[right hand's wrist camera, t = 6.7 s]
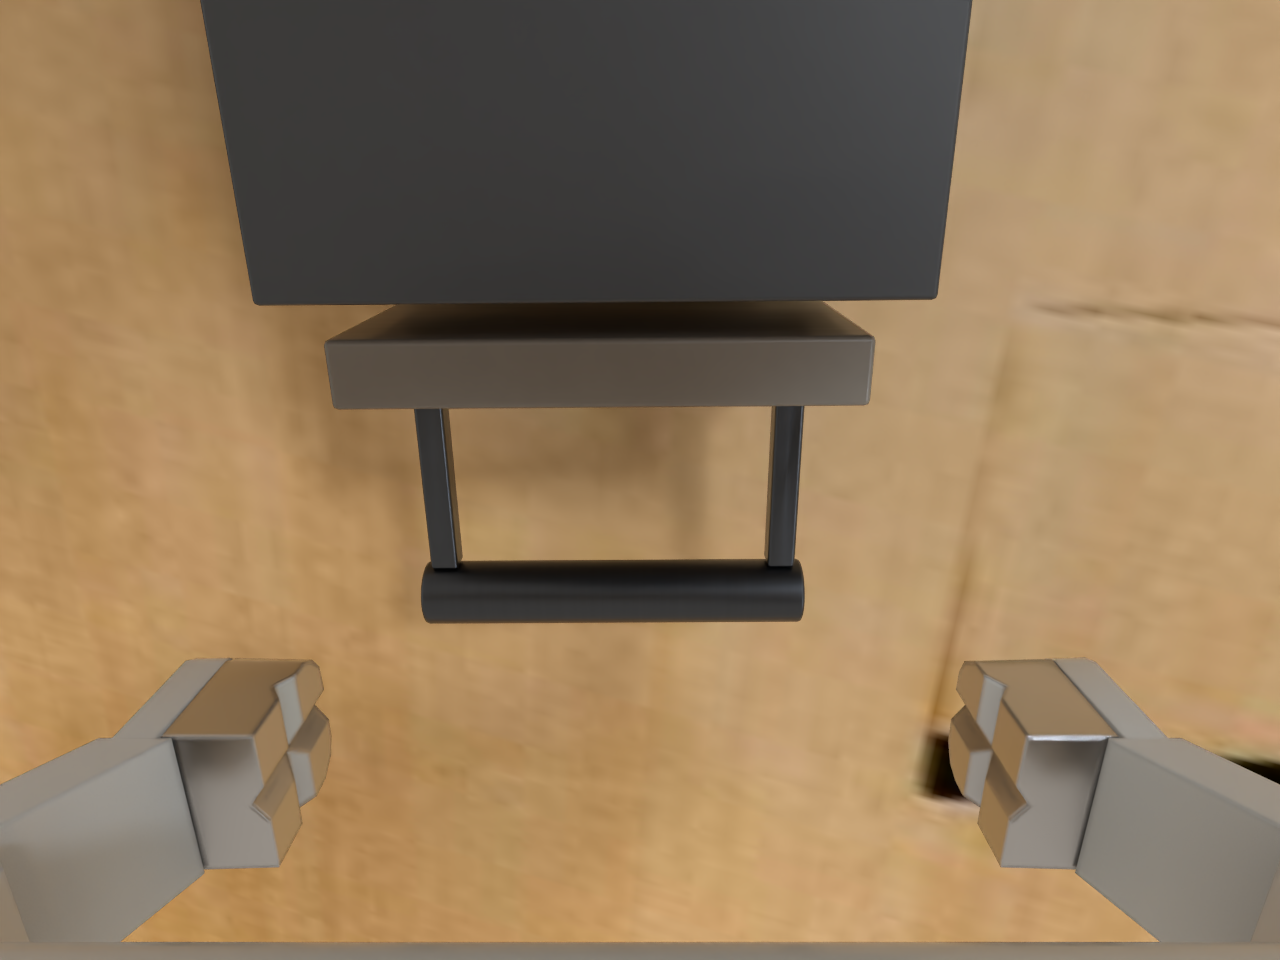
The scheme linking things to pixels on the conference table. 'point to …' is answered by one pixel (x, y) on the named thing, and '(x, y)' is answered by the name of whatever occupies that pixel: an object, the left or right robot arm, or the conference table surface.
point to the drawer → (593, 378)
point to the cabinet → (589, 148)
